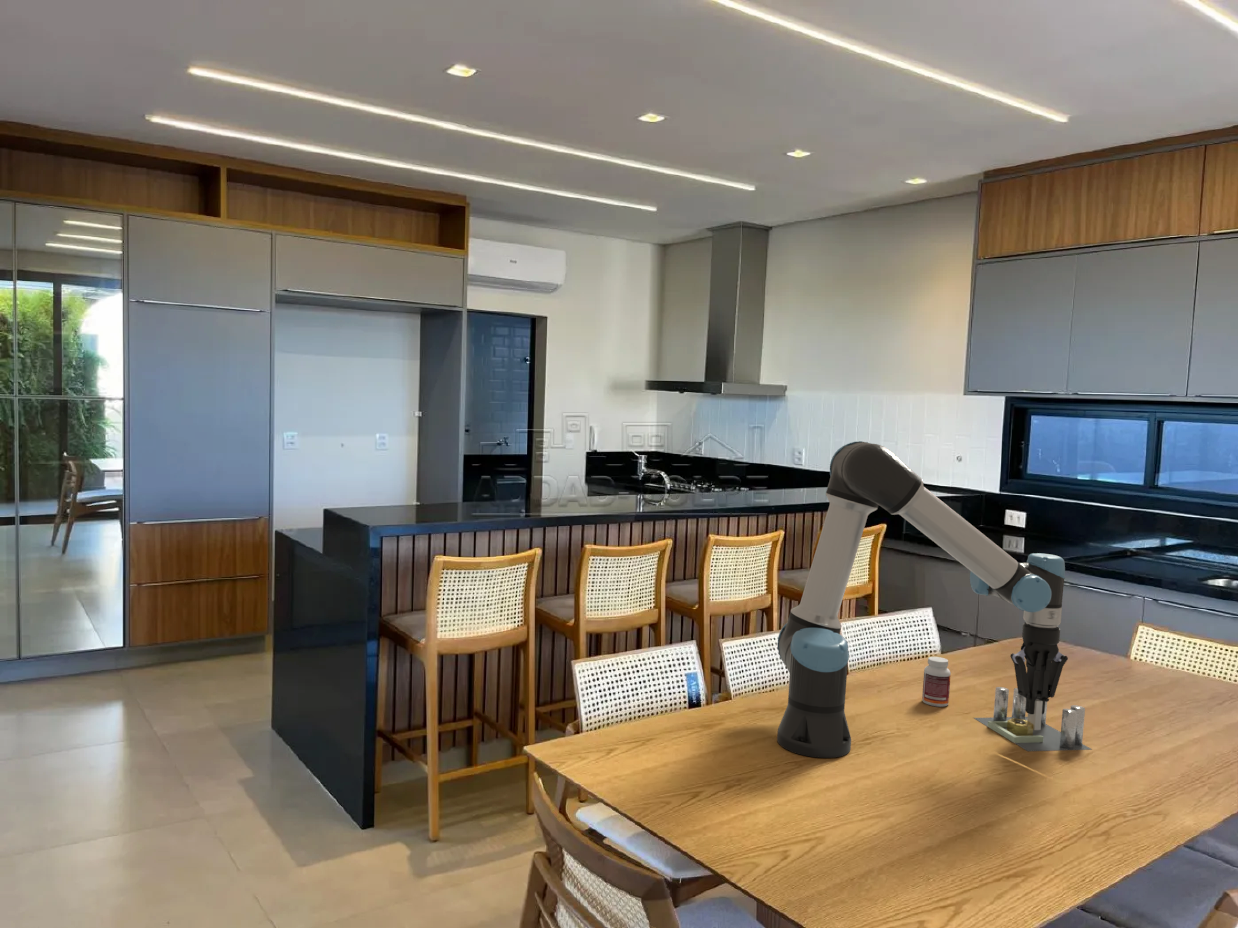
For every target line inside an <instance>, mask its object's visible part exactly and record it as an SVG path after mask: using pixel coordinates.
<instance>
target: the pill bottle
mask: <svg viewBox="0 0 1238 928" xmlns="http://www.w3.org/2000/svg"><path fill="white" fill-rule="evenodd" d="M927 664H928V665H926V666H925V667H924V669H923V680H922V681H923V683H922V684H923V685H922V696H921V698H922V699H921V700H922V702H923V703H924V704H925V705H928V706H932V707H936V708H937V707H938V708H939V707H941V708H943V707H947V706H948V705H949V704H950V703H949V702H950V701H949V700H950V690H951V676H952V675H951V673H952V672H951V670H950V669H949V668H948V667H949V660H948V658H944V657H940V656H930V657H928V658H927Z"/></svg>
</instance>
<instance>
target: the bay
mask: <svg viewBox="0 0 1238 928" xmlns="http://www.w3.org/2000/svg"><path fill="white" fill-rule="evenodd" d="M1003 727H1007V721H988V726H986V728H989V729H990V728H991V730H992V731H994V732H995V731H996V733H997V734H998V733H999V735H1000V734H1001V735H1000V736H1001V737H1003V736H1004V738H1005V739H1006V740H1008V739H1009V740H1008V741H1010V742H1012V743H1013V742H1014V744H1015V743H1029V742H1043V736H1041V735H1037V736H1016V735H1014V734H1012V733H1011V732H1009V731H1007V730H1006V729H1004V728H1003Z"/></svg>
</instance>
